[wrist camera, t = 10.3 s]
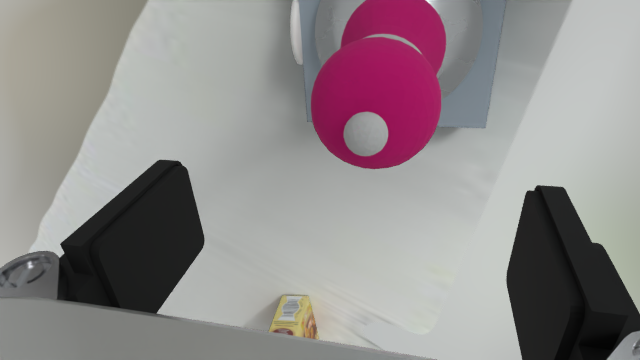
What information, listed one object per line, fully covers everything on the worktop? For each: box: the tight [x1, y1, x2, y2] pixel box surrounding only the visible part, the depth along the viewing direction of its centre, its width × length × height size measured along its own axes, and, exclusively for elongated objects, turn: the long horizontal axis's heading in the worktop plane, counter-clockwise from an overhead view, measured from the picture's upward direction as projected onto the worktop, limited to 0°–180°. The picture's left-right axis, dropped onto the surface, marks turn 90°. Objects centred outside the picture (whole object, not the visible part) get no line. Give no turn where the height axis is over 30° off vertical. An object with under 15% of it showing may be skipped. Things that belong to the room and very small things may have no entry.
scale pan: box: [315, 0, 483, 100], centre depth 33 cm, size 13×13×1 cm
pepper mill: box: [311, 0, 446, 169], centre depth 24 cm, size 7×7×20 cm
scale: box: [290, 0, 506, 128], centre depth 35 cm, size 17×16×6 cm
